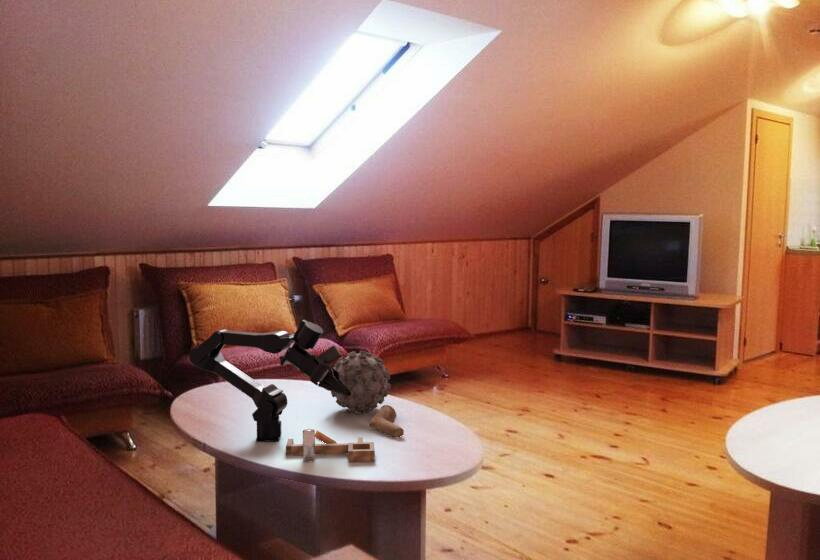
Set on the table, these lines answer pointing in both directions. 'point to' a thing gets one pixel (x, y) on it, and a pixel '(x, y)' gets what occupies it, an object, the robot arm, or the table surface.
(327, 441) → the chocolate bar
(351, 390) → the ornament
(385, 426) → the pipe
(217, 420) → the table surface
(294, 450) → the dock
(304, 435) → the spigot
